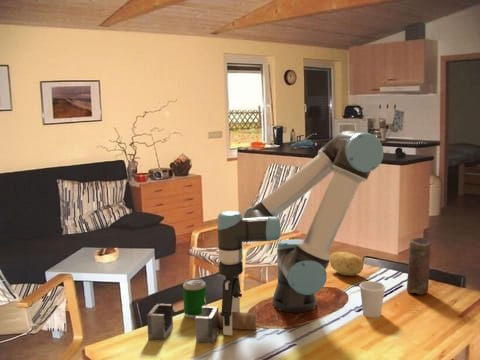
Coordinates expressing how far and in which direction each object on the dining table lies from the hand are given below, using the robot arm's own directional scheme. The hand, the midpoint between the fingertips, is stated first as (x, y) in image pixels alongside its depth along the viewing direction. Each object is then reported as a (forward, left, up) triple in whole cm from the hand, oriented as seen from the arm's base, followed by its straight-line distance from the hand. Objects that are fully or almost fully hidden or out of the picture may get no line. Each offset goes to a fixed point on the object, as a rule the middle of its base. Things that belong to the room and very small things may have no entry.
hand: (232, 325), depth 160 cm
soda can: (+14, -6, 0) cm, 15 cm away
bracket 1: (+21, +9, 0) cm, 23 cm away
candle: (-63, -35, 0) cm, 72 cm away
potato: (-38, -52, 0) cm, 65 cm away
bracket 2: (+6, +9, 0) cm, 10 cm away
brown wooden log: (0, 0, 0) cm, 0 cm away
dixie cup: (-45, -14, 0) cm, 47 cm away
